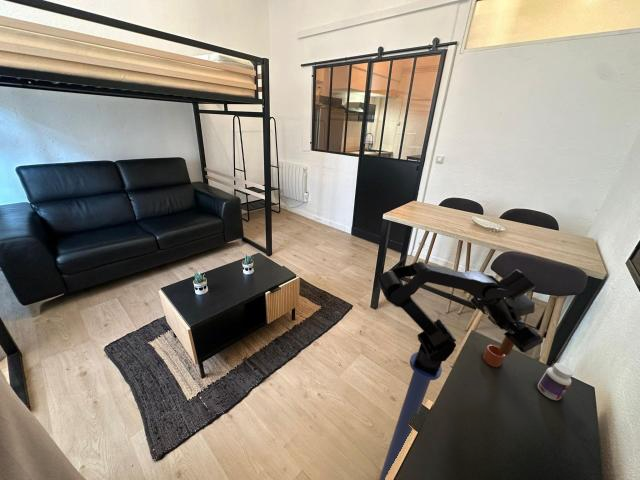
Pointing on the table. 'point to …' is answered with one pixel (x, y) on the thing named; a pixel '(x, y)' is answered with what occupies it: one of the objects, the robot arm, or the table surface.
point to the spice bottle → (507, 344)
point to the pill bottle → (555, 381)
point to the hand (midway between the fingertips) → (516, 335)
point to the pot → (493, 356)
